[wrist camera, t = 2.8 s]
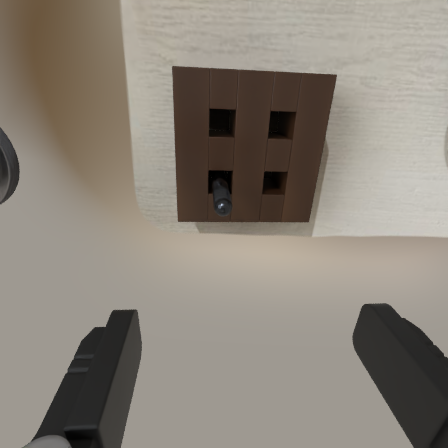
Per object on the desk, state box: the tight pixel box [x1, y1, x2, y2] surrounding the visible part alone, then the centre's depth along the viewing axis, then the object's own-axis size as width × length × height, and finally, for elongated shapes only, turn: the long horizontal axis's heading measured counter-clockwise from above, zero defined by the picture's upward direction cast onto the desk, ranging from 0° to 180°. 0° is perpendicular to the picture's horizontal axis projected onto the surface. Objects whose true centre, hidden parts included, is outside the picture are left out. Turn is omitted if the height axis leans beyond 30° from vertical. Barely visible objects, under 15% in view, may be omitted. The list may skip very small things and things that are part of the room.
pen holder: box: [172, 66, 337, 222], centre depth 28 cm, size 14×14×6 cm
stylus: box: [211, 170, 233, 216], centre depth 25 cm, size 1×1×13 cm
